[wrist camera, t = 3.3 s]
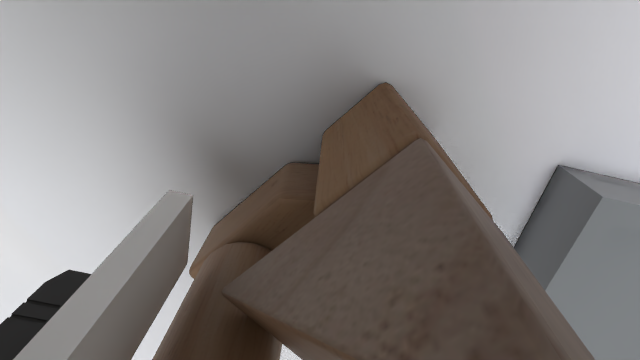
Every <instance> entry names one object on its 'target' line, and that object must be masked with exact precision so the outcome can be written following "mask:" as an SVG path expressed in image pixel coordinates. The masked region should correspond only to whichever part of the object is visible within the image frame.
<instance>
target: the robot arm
mask: <svg viewBox="0 0 640 360" xmlns="http://www.w3.org/2000/svg"><path fill="white" fill-rule="evenodd" d="M192 203H193V195H191V194H186V193H181V192H177V191H172V190H169V191H168V192H167V193H166V194H165V195H164V196H163V197H162V198H161V199H160V200H159V202H158V203H157V204H156V205H155V206H154V207H153V208H152V209H151V210H150V211H149V212H148V214H147V215H146V216H145V217H144V218H143V219H142V220H141V221H140V222H139V223H138V224H137V225H136V227H135V228H134V229H133V230H132V231H131V232H130V233H129V234H128V235H127V236H126V237H125V239H124V240H123V241H122V242H121V243H120V244H119V245H118V246H117V247H116V248H115V249H114V250H113V252H112V253H111V254H110V255H109V256H108V257H107V258H106V259H105V260H104V261H103V262H102V264H101V265H100V266H99V267H98V268H97V269H96V270H95V271H94V272H93V273H92V274H88V273H83V272H78V271H73V270H67V271H66V272H64V273H62V274H60V275H58V276H56V277H54V278H52V279H50V280H48V281H47V282H45V283H44V284H43V285H42V286H41V287H40V288H38V289H37V290H36V291H35V292H34V293H33V294H32V295H31V296H30V297H29V298H28V299H27V302H26V303H23V304H22V305H20V306H19V307H18V308H17V309H16V310H15V311H14V312H13V313H12V315H11V317H10V318H9V317H8V318H7V319H6V320H5V321H3V322H2V323H1V324H0V360H131V359H132V357H133V355H134V354H135V352H136V350H137V348H138V347H139V345H140V343H141V342H142V340H143V338H144V336H145V335H146V333H147V331H148V330H149V328H150V326H151V325H152V323H153V321H154V319H155V318H156V316H157V314H158V313H159V311H160V309H161V307H162V306H163V304H164V302H165V301H166V299H167V297H168V296H169V294H170V292H171V290H172V289H173V287H174V285H175V284H176V282H177V280H178V278H179V277H180V275H181V273H182V272H183V270H184V268H185V267H186V265H187V262H188V250H189V238H190V227H191V215H192Z"/></svg>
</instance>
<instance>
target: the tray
mask: <svg viewBox="0 0 640 360" xmlns="http://www.w3.org/2000/svg"><path fill="white" fill-rule="evenodd" d="M514 249H515V250H516V252H517V253H518V254H519V256H520V257H521V259H522V260H523V261H524V263H525V264H526V265H527V267H528V268H529V269H530V271H531V272H532V274H533V275H534V276H535V278H536V279H537V280H538V282H539V283H540V285H541V286H542V287H543V289H544V290H545V291H546V293H547V294H548V296H549V297H550V298H551V300H552V301H553V302H554V304H555V305H556V307H557V308H558V309H559V311H560V312H561V313H562V315H563V316H564V318H565V319H566V320H567V322H568V323H569V324H570V326H571V327H572V328H573V330H574V331H575V333H576V334H577V335H578V337H579V338H580V339H581V341H582V342H583V344H584V345H585V346H586V348H587V349H588V350H589V352H590V353H591V355H592V356H593V357H594V359H595V360H640V183H635V182H631V181H626V180H622V179H618V178H613V177H609V176H605V175H600V174H596V173H591V172H587V171H583V170H578V169H574V168H570V167H565V166H561V165H558V167H557V169H556V171H555V172H554V174H553V176H552V178H551V180H550V182H549V184H548V185H547V187H546V189H545V191H544V193H543V195H542V197H541V199H540V200H539V202H538V204H537V206H536V208H535V210H534V212H533V213H532V215H531V217H530V219H529V221H528V223H527V225H526V227H525V228H524V230H523V232H522V234H521V236H520V238H519V240H518V241H517V243H516V245H515V247H514Z"/></svg>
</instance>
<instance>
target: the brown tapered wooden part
mask: <svg viewBox="0 0 640 360" xmlns="http://www.w3.org/2000/svg"><path fill="white" fill-rule="evenodd" d="M189 274H190V275H191V277H192V278H194V281H193V283H192V285H191V287H190V289H189V291H188V293H187V295H186V296H185V298H184V300H183V302H182V304H181V306H180V308H179V310H178V312H177V314H176V315H175V317H174V319H173V321H172V323H171V325H170V327H169V329H168V331H167V333H166V335H165V336H164V338H163V340H162V342H161V344H160V346H159V348H158V350H157V352H156V354H155V355H154V357H153V359H152V360H279V359H280V353H281V347H282V344H284V345H285V346H286V347H287V348H289V349H290V350H291V351H292V352H294V353H295V354H296V355H297V356H299V357H300V358H301V359H302V360H595V359H594V357H593V356H592V355H591V353H590V352H589V350H588V349H587V348H586V346H585V345H584V344H583V342H582V341H581V339H580V338H579V337H578V335H577V334H576V333H575V331H574V330H573V328H572V327H571V326H570V324H569V323H568V322H567V320H566V319H565V318H564V316H563V315H562V313H561V312H560V311H559V309H558V308H557V307H556V305H555V304H554V302H553V301H552V300H551V298H550V297H549V296H548V294H547V293H546V291H545V290H544V289H543V287H542V286H541V285H540V283H539V282H538V280H537V279H536V278H535V276H534V275H533V274H532V272H531V271H530V269H529V268H528V267H527V265H526V264H525V263H524V261H523V260H522V259H521V257H520V256H519V254H518V253H517V252H516V250H515V249H514V248H513V246H512V245H511V243H510V242H509V241H508V239H507V238H506V237H505V235H504V234H503V233H502V231H501V230H500V229H499V228H498V226H497V225H496V224H495V223H494V222H493V219H492V215H491V214H490V213H489V211H488V210H487V208H486V207H485V206H484V204H483V203H482V202H481V200H480V199H479V198H478V196H477V195H476V194H475V192H474V191H473V189H472V188H471V187H470V185H469V184H468V183H467V181H466V180H465V179H464V177H463V176H462V174H461V173H460V172H459V170H458V169H457V168H456V166H455V165H454V164H453V162H452V161H451V160H450V158H449V157H448V155H447V154H446V153H445V151H444V150H443V149H442V147H441V146H440V145H439V143H438V142H437V141H436V139H435V138H434V137H433V135H432V134H431V133H430V132H429V130H428V129H427V128H426V127H425V125H424V124H423V123H422V122H421V121H420V119H419V118H418V117H417V116H416V114H415V113H414V112H413V111H412V110H411V108H410V107H409V106H408V105H407V103H406V102H405V101H404V100H403V99H402V97H401V96H400V95H399V94H398V92H397V91H396V90H395V89H394V87H393V86H392V85H390V84H388V83H383V84H380V85H378V86H377V87H376V88H375V89H374V90H372V91H371V92H370V93H369V94H368V95H367V96H365V97H364V98H363V99H362V100H361V101H360V102H358V103H357V104H356V105H355V106H354V107H353V108H351V109H350V110H349V111H348V112H347V113H346V114H344V115H343V116H342V117H341V118H340V119H339V120H337V121H336V122H335V123H334V124H333V125H332V126H330V127H329V128H328V129H327V130H326V131H325V132H324V134H323V136H322V144H321V153H320V161H319V164H304V163H289V164H287V165H285V166H284V167H283V168H282V169H280V170H279V171H278V172H277V173H276V174H275V175H273V176H272V177H271V178H270V179H269V180H268V181H266V182H265V183H264V184H263V185H262V186H261V187H259V188H258V189H257V190H256V191H255V192H254V193H252V194H251V195H250V196H249V197H248V198H247V199H245V200H244V201H243V202H242V203H241V204H239V205H238V206H237V207H236V208H235V209H234V210H232V211H231V212H230V213H229V214H228V215H227V216H225V217H224V218H223V219H222V220H221V221H220V222H218V223H217V224H216V225H215V226H214V227H213V228H212V230H211V232H210V233H209V235H208V237H207V239H206V240H205V242H204V244H203V246H202V248H201V249H200V251H199V253H198V255H197V256H196V258H195V260H194V262H193V263H192V265H191V267H190V270H189Z"/></svg>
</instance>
